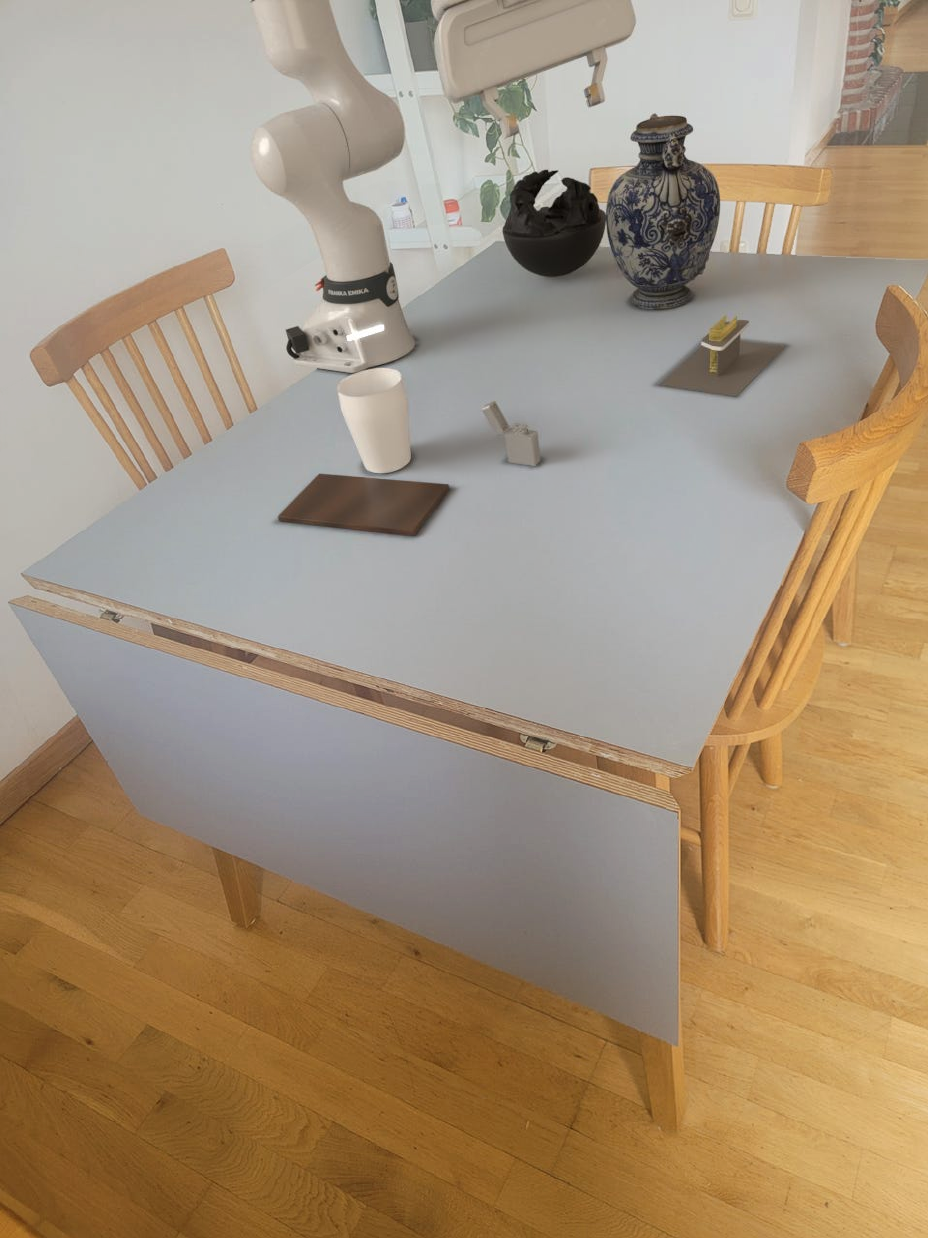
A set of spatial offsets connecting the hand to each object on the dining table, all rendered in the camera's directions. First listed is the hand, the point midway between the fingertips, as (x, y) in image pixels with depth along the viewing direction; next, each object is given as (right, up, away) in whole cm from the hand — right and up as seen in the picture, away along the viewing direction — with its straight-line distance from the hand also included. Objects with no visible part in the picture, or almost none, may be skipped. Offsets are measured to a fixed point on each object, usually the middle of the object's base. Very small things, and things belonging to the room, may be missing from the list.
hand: (554, 120), depth 88 cm
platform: (+29, -14, +39) cm, 51 cm away
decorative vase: (+26, +5, +63) cm, 68 cm away
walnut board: (-22, -37, +23) cm, 49 cm away
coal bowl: (+9, +17, +82) cm, 84 cm away
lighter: (-2, -31, +26) cm, 40 cm away
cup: (-20, -30, +31) cm, 48 cm away
